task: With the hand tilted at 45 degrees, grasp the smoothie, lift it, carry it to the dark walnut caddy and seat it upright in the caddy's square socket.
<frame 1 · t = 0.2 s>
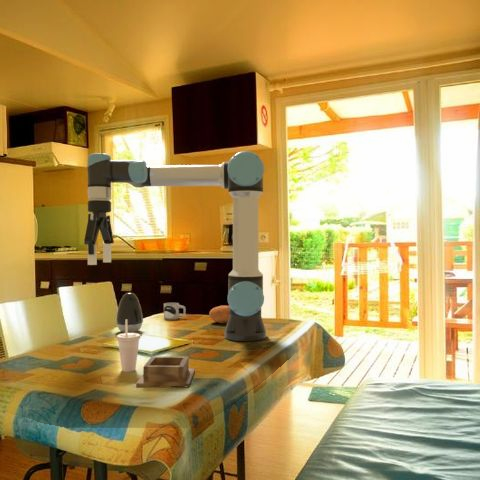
hand: (100, 263, 158), 28 cm above the table, tool pointing down, fingers open, 13 cm apart
potato: (222, 323, 200), on the table
mug: (174, 319, 212), on the table
caddy: (166, 378, 122), on the table
smoothie: (128, 370, 131), on the table
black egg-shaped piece: (129, 332, 183), on the table
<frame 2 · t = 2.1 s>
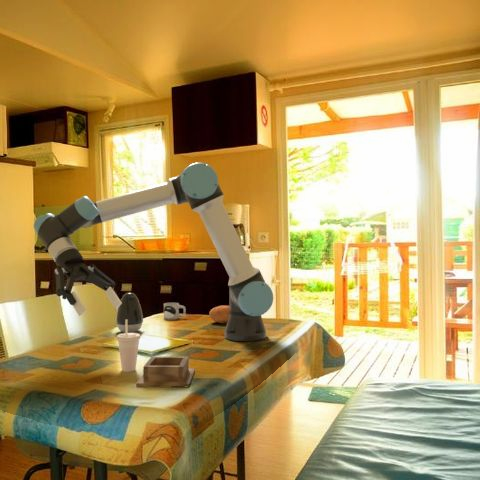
hand: (101, 309, 136), 16 cm above the table, tool tilted 45°, fingers open, 13 cm apart
nothing on the table moved.
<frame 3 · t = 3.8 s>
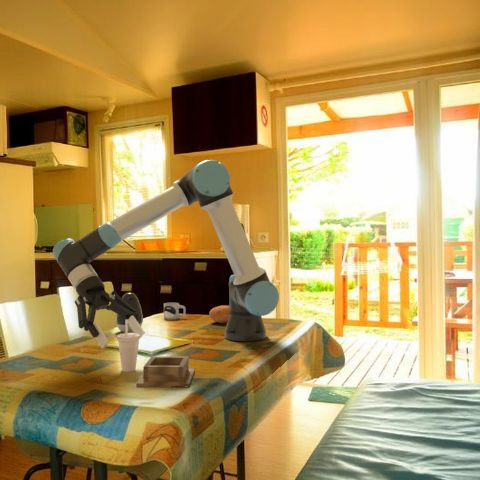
hand: (124, 340, 131), 8 cm above the table, tool tilted 45°, fingers open, 13 cm apart
nothing on the table moved.
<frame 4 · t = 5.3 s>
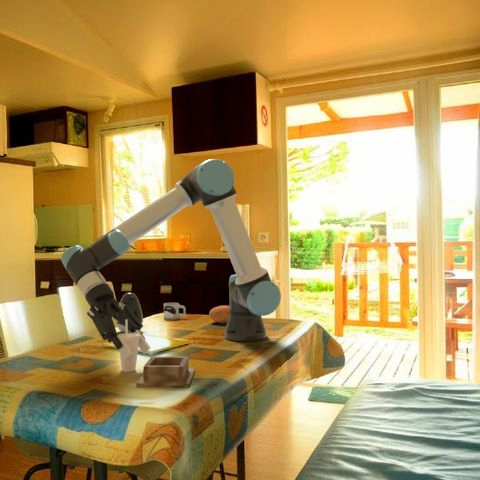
hand: (138, 353, 129), 5 cm above the table, tool tilted 45°, fingers closed on smoothie, 6 cm apart
smoothie: (128, 370, 131), on the table, touching gripper
everything else where it was.
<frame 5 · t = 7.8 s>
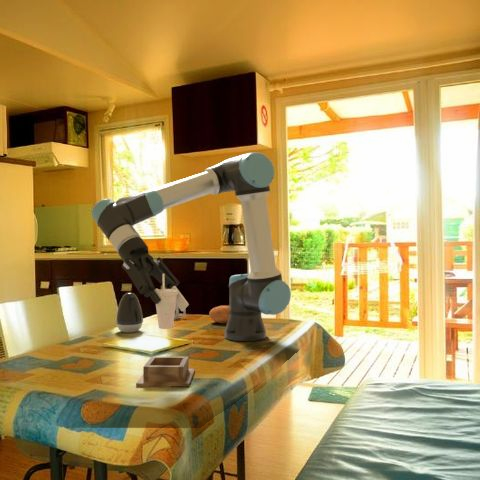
hand: (176, 309, 120), 18 cm above the table, tool tilted 45°, fingers closed on smoothie, 6 cm apart
smoothie: (166, 328, 122), point 13 cm above the table, touching gripper
everything else where it was.
when the fingers open (7 cm above the table, at t = 10.2 s): smoothie drops 1 cm, resting on caddy.
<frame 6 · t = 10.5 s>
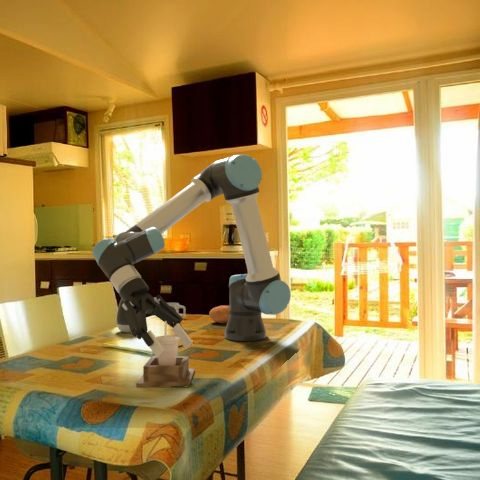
hand: (175, 349, 121), 8 cm above the table, tool tilted 45°, fingers open, 10 cm apart
smoothie: (167, 375, 122), point 1 cm above the table, touching caddy
everything else where it was.
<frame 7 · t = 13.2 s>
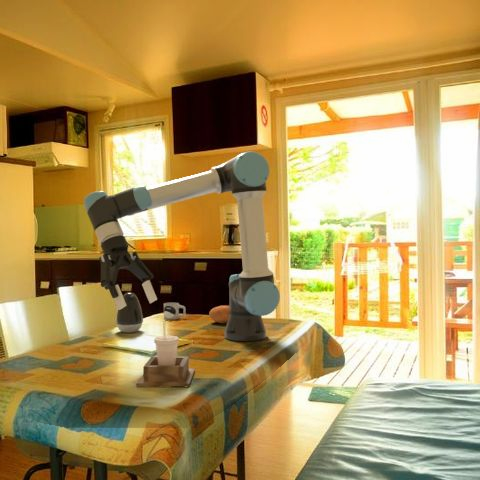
hand: (138, 304, 137), 17 cm above the table, tool tilted 30°, fingers open, 13 cm apart
nothing on the table moved.
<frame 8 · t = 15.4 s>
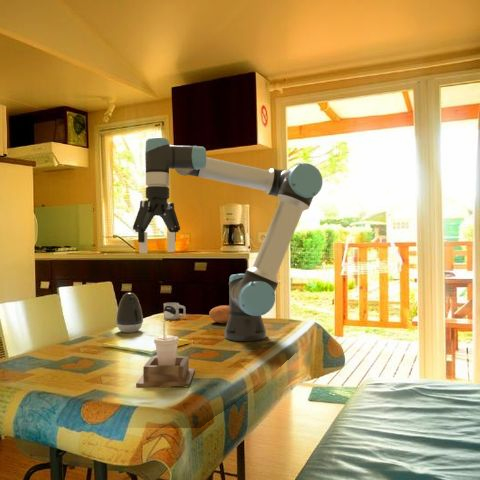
hand: (157, 252, 152), 32 cm above the table, tool pointing down, fingers open, 13 cm apart
nothing on the table moved.
at the end: smoothie 0.1 cm off-centre on the caddy, point 0.7 cm above the caddy's base; smoothie tilted 0°; the gripper is holding nothing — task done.
